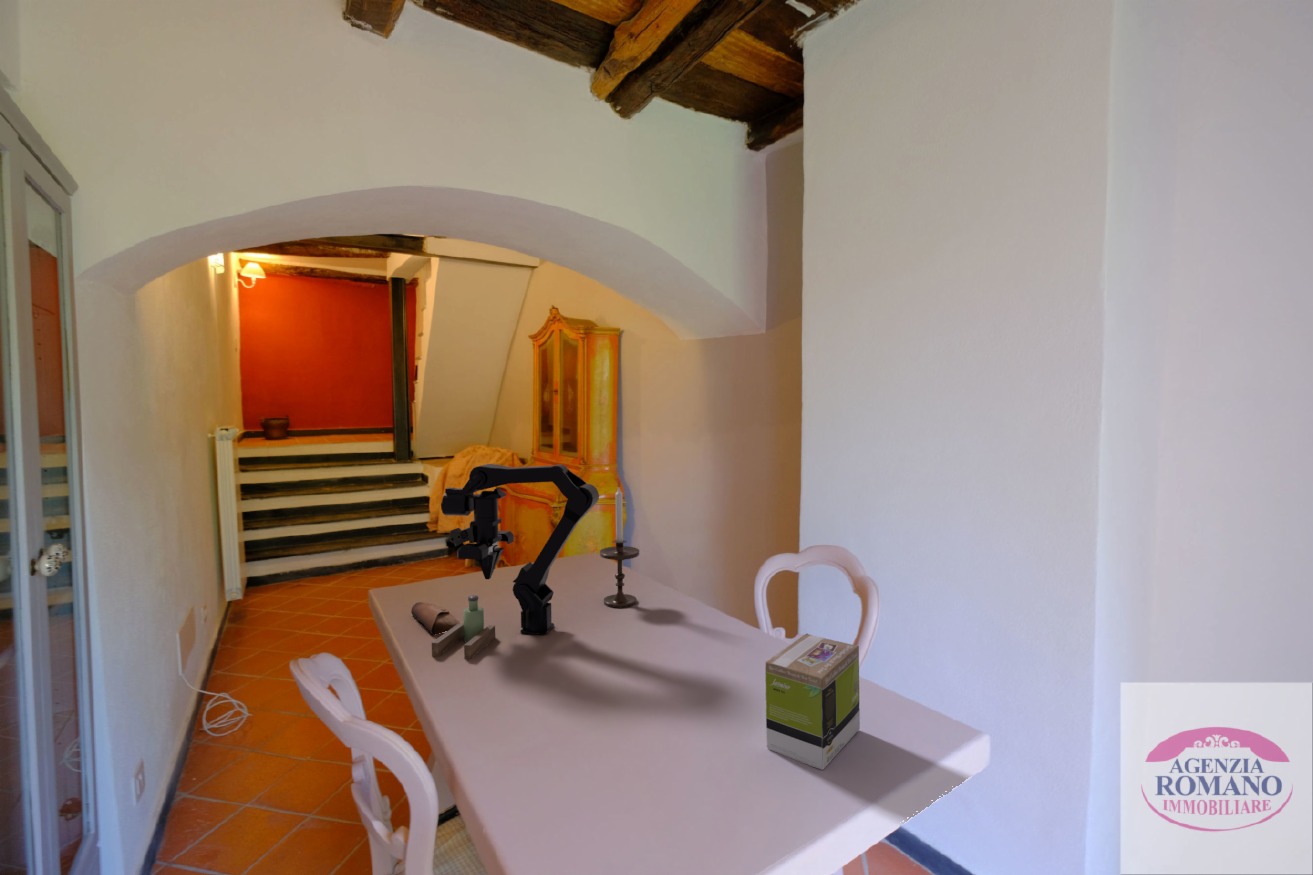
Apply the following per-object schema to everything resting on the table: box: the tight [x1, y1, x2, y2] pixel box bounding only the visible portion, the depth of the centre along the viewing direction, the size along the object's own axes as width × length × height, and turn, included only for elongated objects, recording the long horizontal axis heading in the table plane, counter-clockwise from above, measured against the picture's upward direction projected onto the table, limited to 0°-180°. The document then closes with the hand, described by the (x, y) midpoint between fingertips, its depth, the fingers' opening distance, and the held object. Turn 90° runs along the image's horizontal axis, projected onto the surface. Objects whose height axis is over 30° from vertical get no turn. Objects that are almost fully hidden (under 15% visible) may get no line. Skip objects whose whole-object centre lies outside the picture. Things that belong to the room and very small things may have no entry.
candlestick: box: [599, 476, 640, 609], centre depth 168 cm, size 11×11×35 cm
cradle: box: [431, 622, 496, 660], centre depth 139 cm, size 9×12×3 cm
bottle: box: [462, 594, 485, 643], centre depth 144 cm, size 5×5×10 cm
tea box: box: [764, 633, 861, 771], centre depth 100 cm, size 15×10×15 cm, turn 141°
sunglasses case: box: [410, 601, 461, 636], centre depth 155 cm, size 18×7×7 cm
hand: (487, 578), depth 150 cm, fingers closed
